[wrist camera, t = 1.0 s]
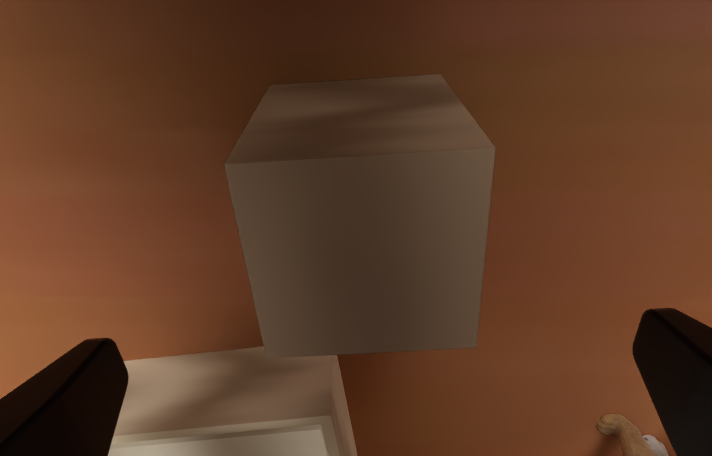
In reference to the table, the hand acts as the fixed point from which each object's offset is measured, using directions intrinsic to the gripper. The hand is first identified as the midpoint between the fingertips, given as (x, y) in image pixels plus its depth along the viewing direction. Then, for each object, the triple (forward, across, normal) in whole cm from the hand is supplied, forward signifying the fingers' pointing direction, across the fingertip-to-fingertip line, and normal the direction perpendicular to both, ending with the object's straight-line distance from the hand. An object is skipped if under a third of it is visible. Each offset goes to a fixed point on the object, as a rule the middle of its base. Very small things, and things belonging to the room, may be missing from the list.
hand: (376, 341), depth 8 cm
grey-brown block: (+8, 0, 0) cm, 8 cm away
